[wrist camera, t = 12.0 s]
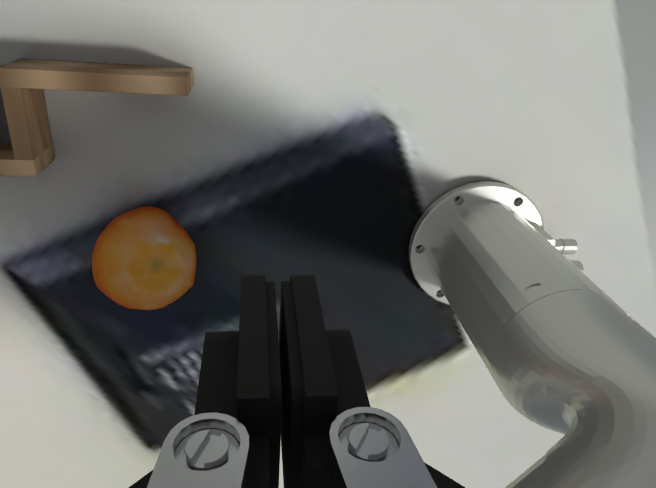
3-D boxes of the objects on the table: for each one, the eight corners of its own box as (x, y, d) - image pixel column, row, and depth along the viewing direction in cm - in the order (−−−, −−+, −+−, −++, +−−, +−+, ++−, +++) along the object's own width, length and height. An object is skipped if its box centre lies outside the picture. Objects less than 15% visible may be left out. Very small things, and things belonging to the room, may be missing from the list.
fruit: (58, 248, 43) (73, 264, 37) (135, 187, 46) (161, 192, 39) (125, 315, 47) (150, 340, 40) (192, 255, 50) (226, 269, 43)
